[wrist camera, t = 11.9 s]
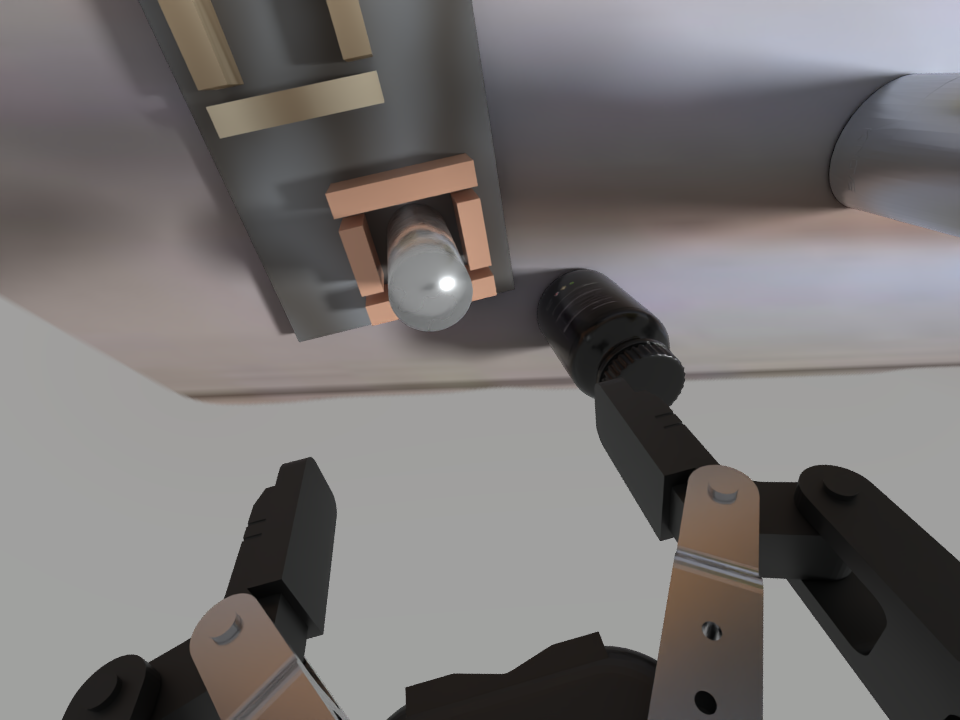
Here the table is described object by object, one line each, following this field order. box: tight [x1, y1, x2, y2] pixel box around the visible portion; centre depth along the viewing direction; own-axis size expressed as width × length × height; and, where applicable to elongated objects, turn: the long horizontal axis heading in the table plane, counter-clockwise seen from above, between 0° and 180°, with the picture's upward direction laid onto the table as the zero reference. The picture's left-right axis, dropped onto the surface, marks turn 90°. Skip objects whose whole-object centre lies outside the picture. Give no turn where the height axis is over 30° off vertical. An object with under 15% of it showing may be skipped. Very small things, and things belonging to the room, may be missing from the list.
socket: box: [325, 153, 497, 326], centre depth 28 cm, size 8×8×3 cm
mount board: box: [138, 0, 515, 342], centre depth 26 cm, size 16×23×4 cm
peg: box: [387, 204, 473, 332], centre depth 26 cm, size 4×4×10 cm
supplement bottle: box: [537, 269, 685, 406], centre depth 31 cm, size 7×7×12 cm
